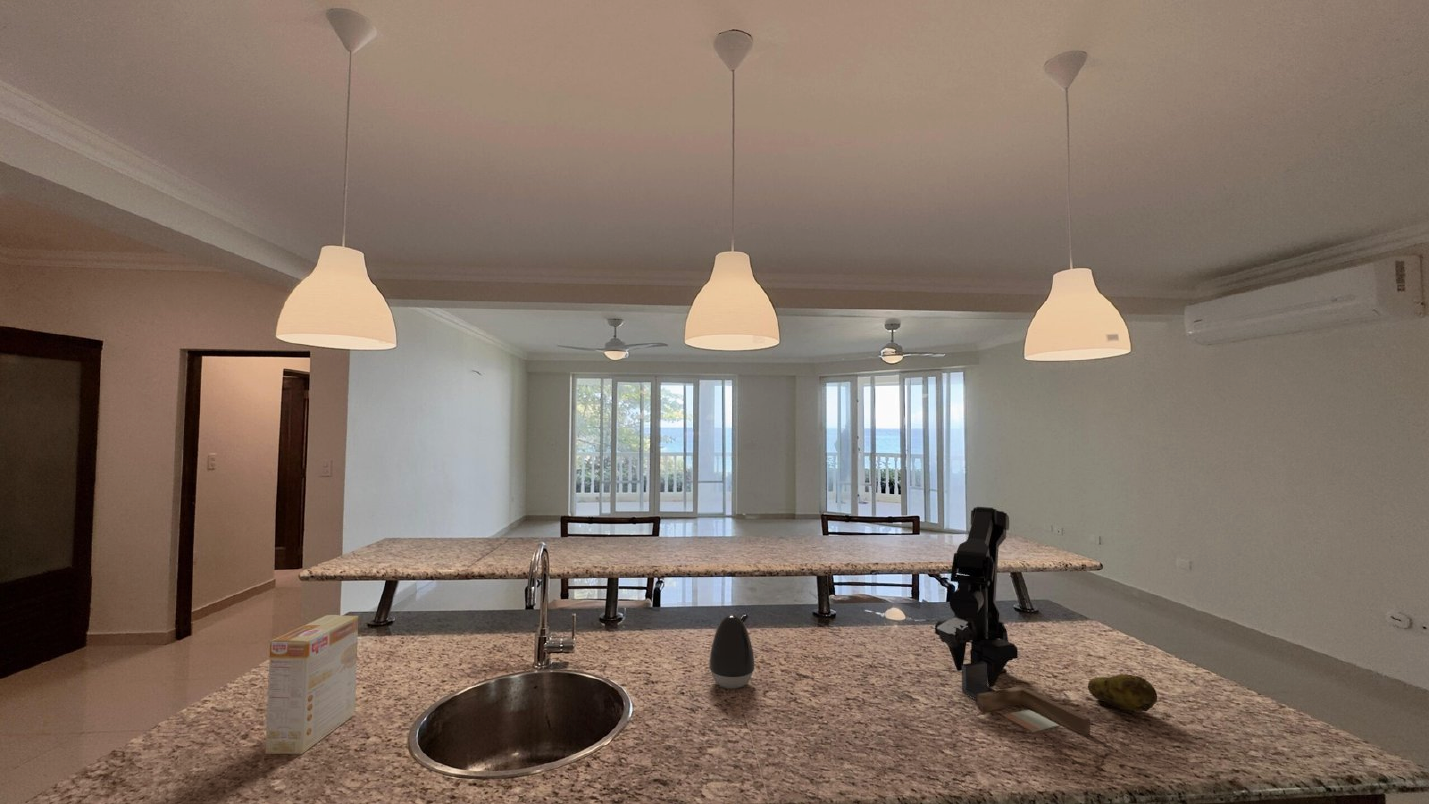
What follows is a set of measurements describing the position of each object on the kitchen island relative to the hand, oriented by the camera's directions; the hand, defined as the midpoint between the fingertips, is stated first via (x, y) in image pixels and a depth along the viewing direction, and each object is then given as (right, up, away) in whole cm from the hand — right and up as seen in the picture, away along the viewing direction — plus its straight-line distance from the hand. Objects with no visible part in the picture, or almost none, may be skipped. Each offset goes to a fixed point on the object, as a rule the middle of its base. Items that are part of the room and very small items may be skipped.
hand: (974, 678), depth 131 cm
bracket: (+1, -3, -2) cm, 4 cm away
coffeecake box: (-132, -1, -20) cm, 134 cm away
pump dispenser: (-53, -3, +3) cm, 54 cm away
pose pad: (+5, -2, -14) cm, 15 cm away
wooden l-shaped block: (+5, -2, -14) cm, 15 cm away
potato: (+27, -3, -9) cm, 28 cm away
